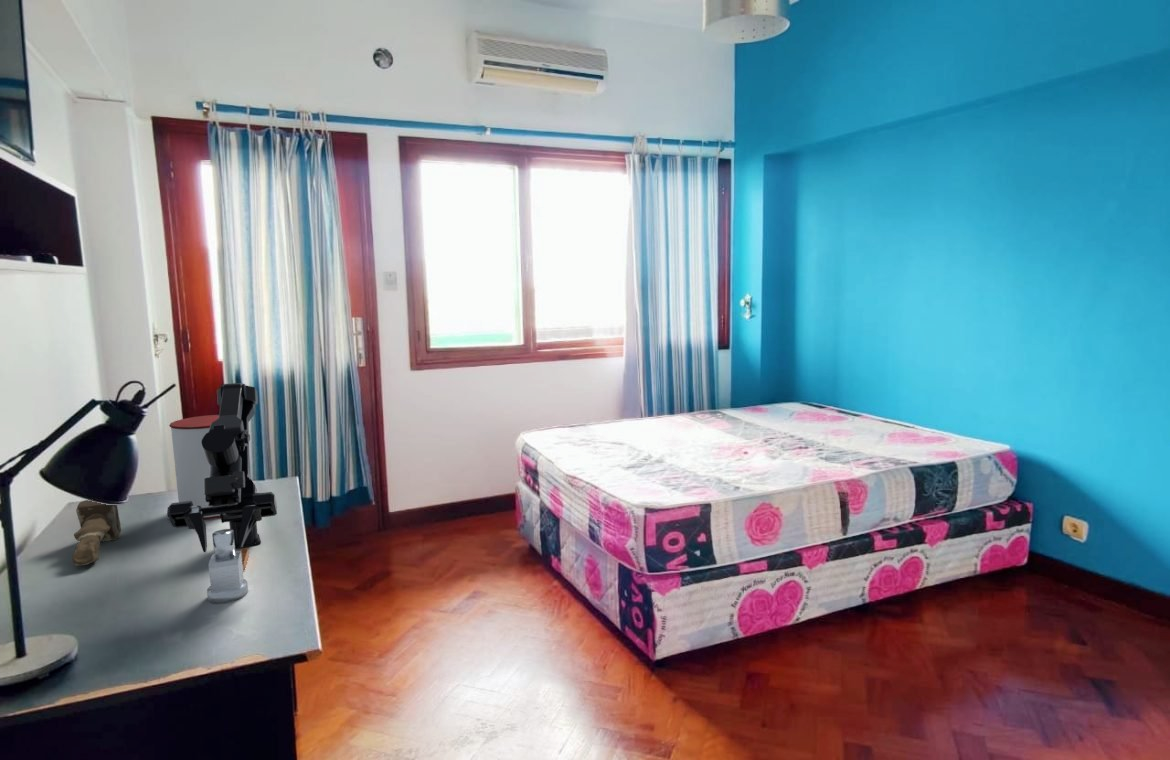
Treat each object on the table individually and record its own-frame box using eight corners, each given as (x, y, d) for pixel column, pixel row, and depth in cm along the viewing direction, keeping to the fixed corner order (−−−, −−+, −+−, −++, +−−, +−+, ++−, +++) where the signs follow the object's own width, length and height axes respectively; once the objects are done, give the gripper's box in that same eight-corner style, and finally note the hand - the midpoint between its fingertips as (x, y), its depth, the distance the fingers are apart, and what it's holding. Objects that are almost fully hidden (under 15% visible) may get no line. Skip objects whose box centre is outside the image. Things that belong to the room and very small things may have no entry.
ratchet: (222, 561, 146) (220, 541, 146) (257, 556, 149) (255, 537, 148) (205, 606, 125) (202, 584, 124) (246, 600, 128) (244, 578, 127)
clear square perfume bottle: (215, 582, 131) (210, 529, 129) (243, 578, 133) (238, 526, 131) (211, 593, 126) (206, 538, 125) (240, 588, 128) (235, 534, 126)
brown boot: (79, 601, 149) (61, 565, 140) (86, 523, 163) (70, 484, 154) (118, 593, 153) (103, 557, 143) (123, 516, 167) (109, 479, 157)
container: (202, 499, 190) (194, 414, 187) (261, 499, 190) (254, 414, 186) (164, 520, 173) (154, 427, 169) (229, 520, 173) (220, 426, 169)
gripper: (164, 463, 126) (156, 538, 118) (271, 453, 133) (271, 523, 124) (176, 491, 135) (170, 563, 126) (276, 480, 141) (277, 548, 133)
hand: (222, 549), depth 127 cm, fingers open, 6 cm apart
